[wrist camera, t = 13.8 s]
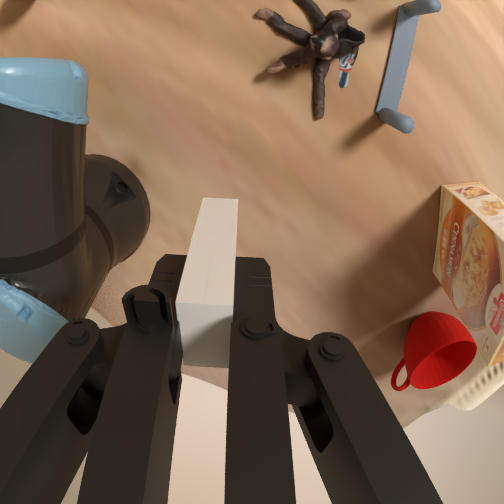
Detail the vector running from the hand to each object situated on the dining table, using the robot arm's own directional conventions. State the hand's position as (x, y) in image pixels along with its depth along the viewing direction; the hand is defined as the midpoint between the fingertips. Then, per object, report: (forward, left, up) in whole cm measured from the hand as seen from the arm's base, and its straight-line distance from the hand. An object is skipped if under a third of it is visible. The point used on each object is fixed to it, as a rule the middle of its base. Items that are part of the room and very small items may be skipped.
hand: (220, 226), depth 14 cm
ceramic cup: (+37, -28, -23) cm, 52 cm away
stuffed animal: (+6, +10, -24) cm, 27 cm away
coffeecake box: (+33, -7, -23) cm, 41 cm away
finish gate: (+16, +12, -23) cm, 31 cm away
